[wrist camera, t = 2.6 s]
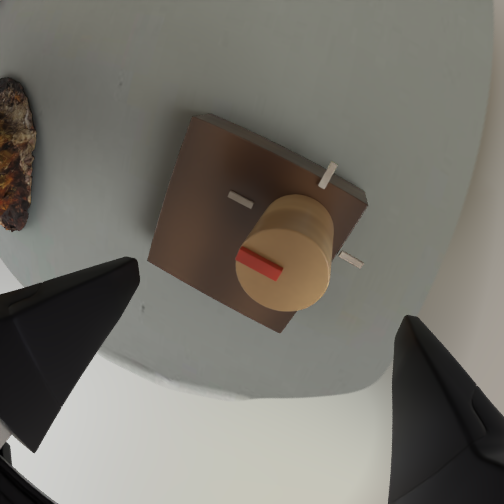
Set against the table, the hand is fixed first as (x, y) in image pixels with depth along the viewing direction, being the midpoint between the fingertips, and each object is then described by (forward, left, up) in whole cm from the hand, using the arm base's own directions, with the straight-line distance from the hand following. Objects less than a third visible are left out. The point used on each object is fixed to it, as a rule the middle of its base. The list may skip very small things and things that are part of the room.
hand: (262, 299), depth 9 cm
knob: (0, +1, -7) cm, 7 cm away
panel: (+2, +3, -10) cm, 10 cm away
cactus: (+29, +9, -10) cm, 32 cm away
